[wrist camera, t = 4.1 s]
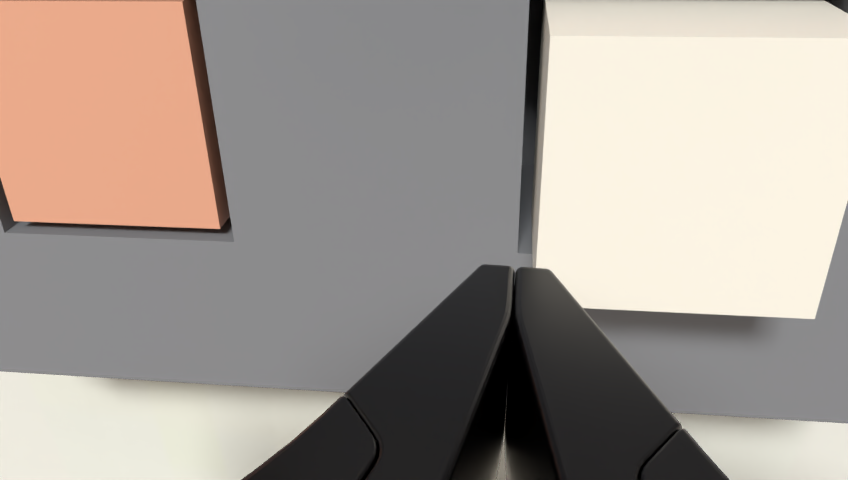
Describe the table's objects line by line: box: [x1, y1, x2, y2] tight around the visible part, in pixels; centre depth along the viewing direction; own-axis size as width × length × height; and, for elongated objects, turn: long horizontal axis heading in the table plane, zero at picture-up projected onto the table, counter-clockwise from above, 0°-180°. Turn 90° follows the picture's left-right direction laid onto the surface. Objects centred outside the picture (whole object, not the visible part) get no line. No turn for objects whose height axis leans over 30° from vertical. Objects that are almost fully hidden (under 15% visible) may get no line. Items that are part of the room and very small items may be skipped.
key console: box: [0, 0, 848, 423], centre depth 18 cm, size 24×14×6 cm, turn 91°
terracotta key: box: [0, 0, 230, 229], centre depth 18 cm, size 5×5×4 cm
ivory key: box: [531, 0, 848, 319], centre depth 14 cm, size 5×5×4 cm
